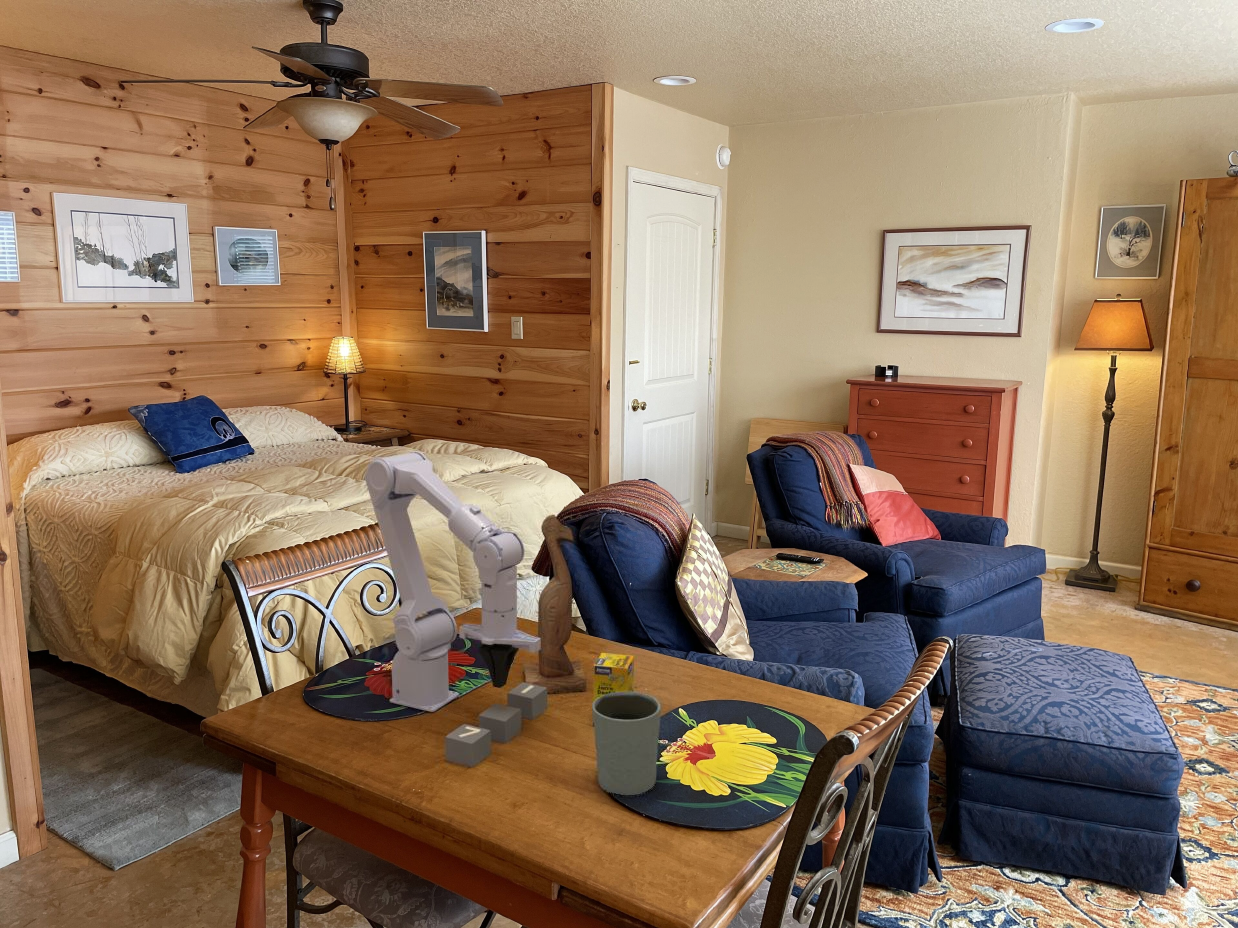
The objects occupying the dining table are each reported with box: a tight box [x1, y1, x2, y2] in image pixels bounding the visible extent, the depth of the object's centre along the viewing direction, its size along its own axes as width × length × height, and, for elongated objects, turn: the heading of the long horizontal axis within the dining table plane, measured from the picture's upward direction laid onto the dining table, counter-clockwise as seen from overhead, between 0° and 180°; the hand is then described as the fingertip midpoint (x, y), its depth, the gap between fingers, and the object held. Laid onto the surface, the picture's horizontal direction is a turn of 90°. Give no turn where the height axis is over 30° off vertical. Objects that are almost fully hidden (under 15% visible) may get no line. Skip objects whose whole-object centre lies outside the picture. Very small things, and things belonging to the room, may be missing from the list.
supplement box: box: [592, 652, 635, 728], centre depth 154 cm, size 6×6×11 cm
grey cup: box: [591, 691, 662, 795], centre depth 135 cm, size 10×10×12 cm
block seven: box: [444, 723, 492, 768], centre depth 142 cm, size 5×5×4 cm
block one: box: [506, 682, 548, 721], centre depth 158 cm, size 5×5×4 cm
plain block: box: [478, 703, 522, 745], centre depth 150 cm, size 5×5×4 cm
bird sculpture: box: [522, 514, 587, 695], centre depth 169 cm, size 11×12×32 cm
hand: (499, 685), depth 152 cm, fingers closed
